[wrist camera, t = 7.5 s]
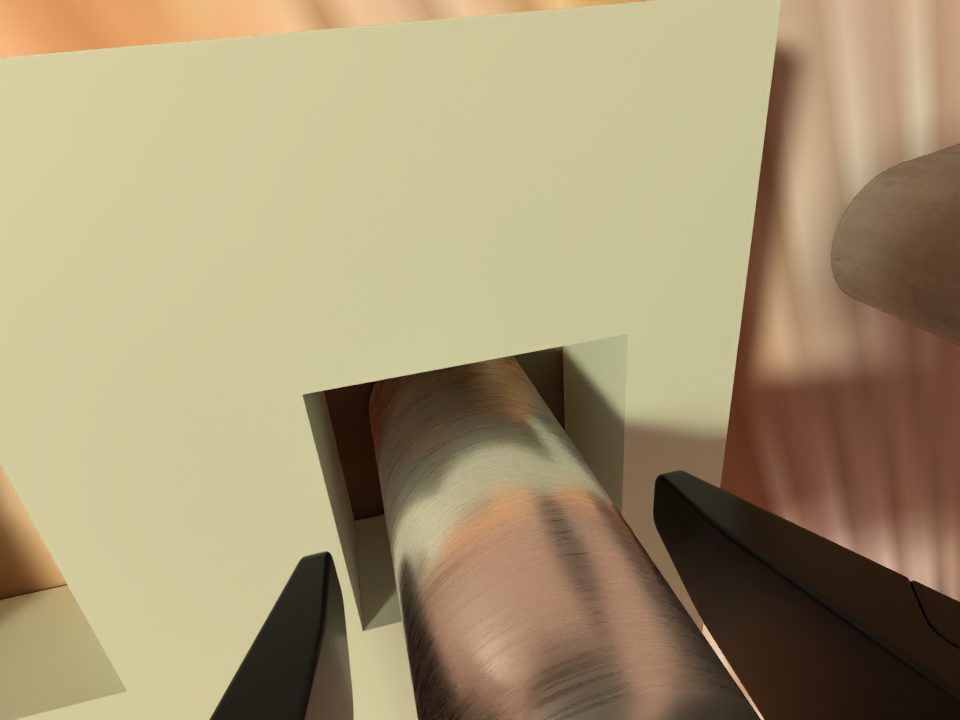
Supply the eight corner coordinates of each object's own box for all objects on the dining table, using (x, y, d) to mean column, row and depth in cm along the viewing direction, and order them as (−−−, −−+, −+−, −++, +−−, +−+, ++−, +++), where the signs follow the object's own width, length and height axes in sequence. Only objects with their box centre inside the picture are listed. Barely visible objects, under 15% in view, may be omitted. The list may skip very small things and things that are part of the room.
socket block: (666, 6, 10) (798, -14, 7) (636, 587, 17) (702, 696, 14) (-697, 129, 7) (-1349, 173, 4) (-95, 778, 14) (-204, 968, 11)
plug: (522, 318, 12) (793, 650, 5) (530, 453, 14) (748, 845, 7) (355, 348, 12) (416, 765, 5) (383, 485, 13) (460, 952, 6)
